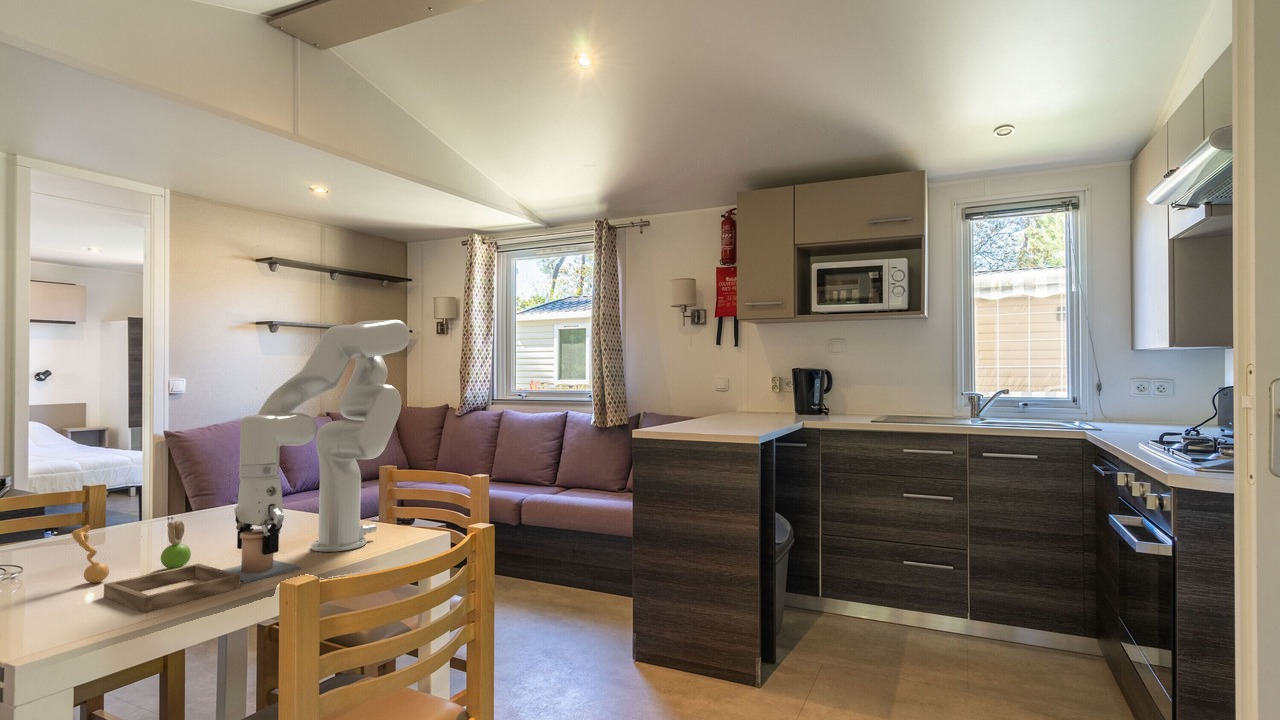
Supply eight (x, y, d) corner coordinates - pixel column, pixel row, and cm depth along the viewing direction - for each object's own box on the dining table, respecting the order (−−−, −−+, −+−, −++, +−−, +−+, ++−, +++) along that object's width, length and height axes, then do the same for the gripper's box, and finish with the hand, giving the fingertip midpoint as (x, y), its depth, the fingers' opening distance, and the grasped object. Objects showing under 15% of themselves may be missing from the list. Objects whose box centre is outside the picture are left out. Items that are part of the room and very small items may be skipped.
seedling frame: (198, 575, 136) (198, 563, 136) (240, 587, 128) (240, 574, 128) (103, 597, 122) (104, 584, 122) (143, 612, 114) (144, 598, 114)
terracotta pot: (264, 562, 143) (265, 526, 144) (281, 567, 140) (282, 530, 140) (232, 570, 137) (233, 532, 138) (249, 575, 134) (250, 536, 134)
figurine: (111, 584, 130) (113, 525, 130) (72, 591, 125) (74, 530, 126) (105, 576, 135) (107, 519, 136) (67, 582, 131) (69, 523, 131)
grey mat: (269, 561, 147) (269, 558, 147) (299, 569, 141) (300, 566, 141) (212, 574, 136) (212, 571, 136) (243, 583, 130) (243, 580, 130)
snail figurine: (153, 574, 137) (155, 517, 137) (166, 566, 143) (168, 512, 144) (182, 572, 138) (184, 516, 139) (194, 564, 145) (196, 511, 145)
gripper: (299, 472, 138) (297, 551, 138) (255, 467, 147) (253, 542, 146) (264, 476, 132) (262, 560, 131) (220, 470, 141) (218, 549, 140)
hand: (257, 550), depth 139 cm, fingers open, 9 cm apart
